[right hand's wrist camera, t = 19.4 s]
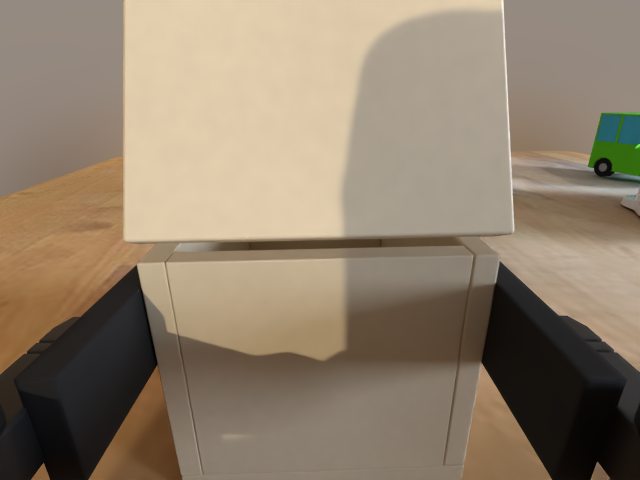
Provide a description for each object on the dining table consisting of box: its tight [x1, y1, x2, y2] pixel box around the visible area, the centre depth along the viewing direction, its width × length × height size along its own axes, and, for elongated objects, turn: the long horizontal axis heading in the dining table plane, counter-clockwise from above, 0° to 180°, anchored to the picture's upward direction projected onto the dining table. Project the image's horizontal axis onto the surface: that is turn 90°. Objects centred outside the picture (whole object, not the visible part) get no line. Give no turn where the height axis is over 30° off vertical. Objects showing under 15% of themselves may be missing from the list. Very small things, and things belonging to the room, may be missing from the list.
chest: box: [137, 237, 500, 480], centre depth 18 cm, size 14×10×9 cm
